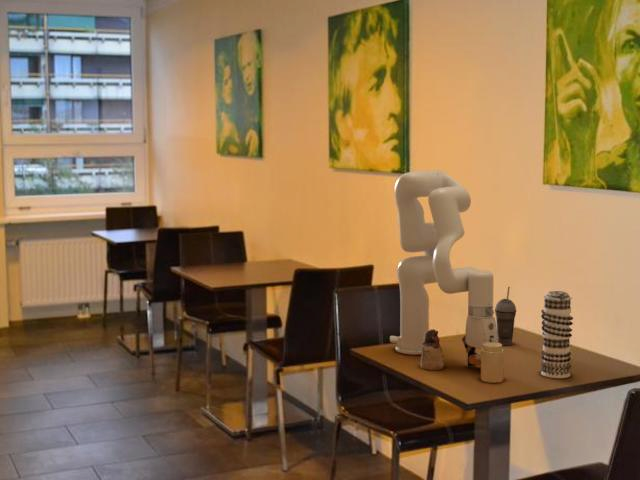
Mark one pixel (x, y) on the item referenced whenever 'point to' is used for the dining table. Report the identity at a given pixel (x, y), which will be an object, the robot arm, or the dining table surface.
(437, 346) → the figurine
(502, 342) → the beverage cup
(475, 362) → the jar lid
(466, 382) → the dining table surface
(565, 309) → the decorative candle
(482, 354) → the honey jar
